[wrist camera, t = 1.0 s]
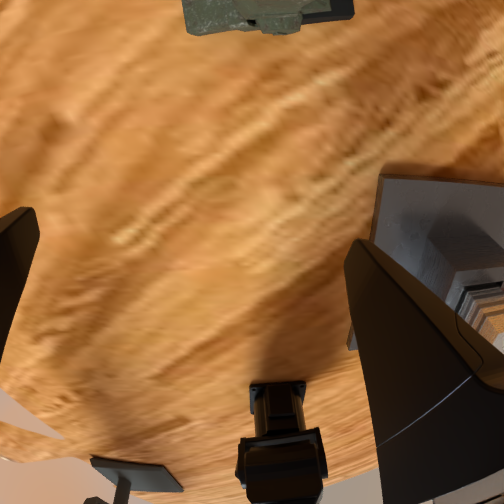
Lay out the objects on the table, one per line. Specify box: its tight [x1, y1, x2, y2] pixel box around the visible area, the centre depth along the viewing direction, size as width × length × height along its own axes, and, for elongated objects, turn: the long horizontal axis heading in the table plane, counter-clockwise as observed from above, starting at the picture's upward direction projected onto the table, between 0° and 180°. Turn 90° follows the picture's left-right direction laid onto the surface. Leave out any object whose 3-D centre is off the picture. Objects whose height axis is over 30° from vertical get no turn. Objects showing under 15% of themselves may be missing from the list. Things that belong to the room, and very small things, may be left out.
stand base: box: [346, 174, 504, 351], centre depth 24 cm, size 18×18×7 cm
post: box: [454, 282, 504, 354], centre depth 22 cm, size 4×4×10 cm
